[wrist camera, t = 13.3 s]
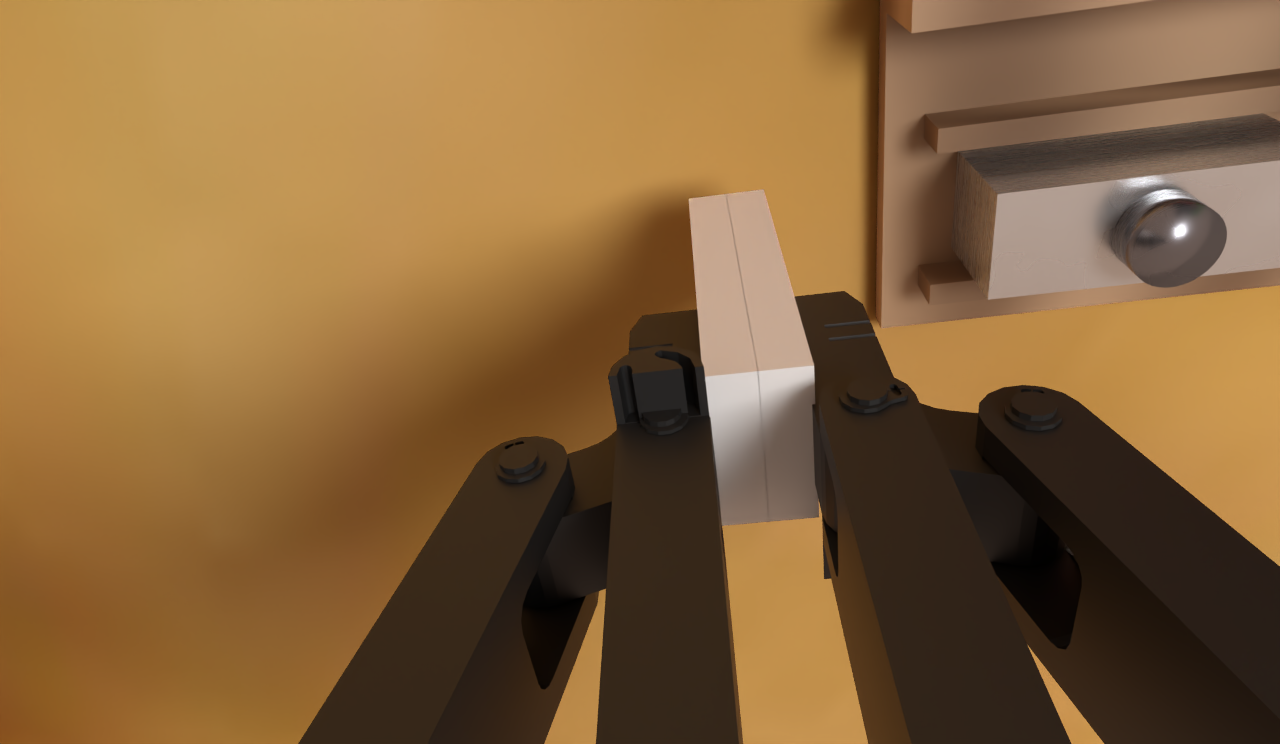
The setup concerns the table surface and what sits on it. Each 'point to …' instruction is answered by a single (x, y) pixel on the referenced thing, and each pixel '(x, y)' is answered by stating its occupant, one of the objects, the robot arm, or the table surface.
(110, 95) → the table surface
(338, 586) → the table surface
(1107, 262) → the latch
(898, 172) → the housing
